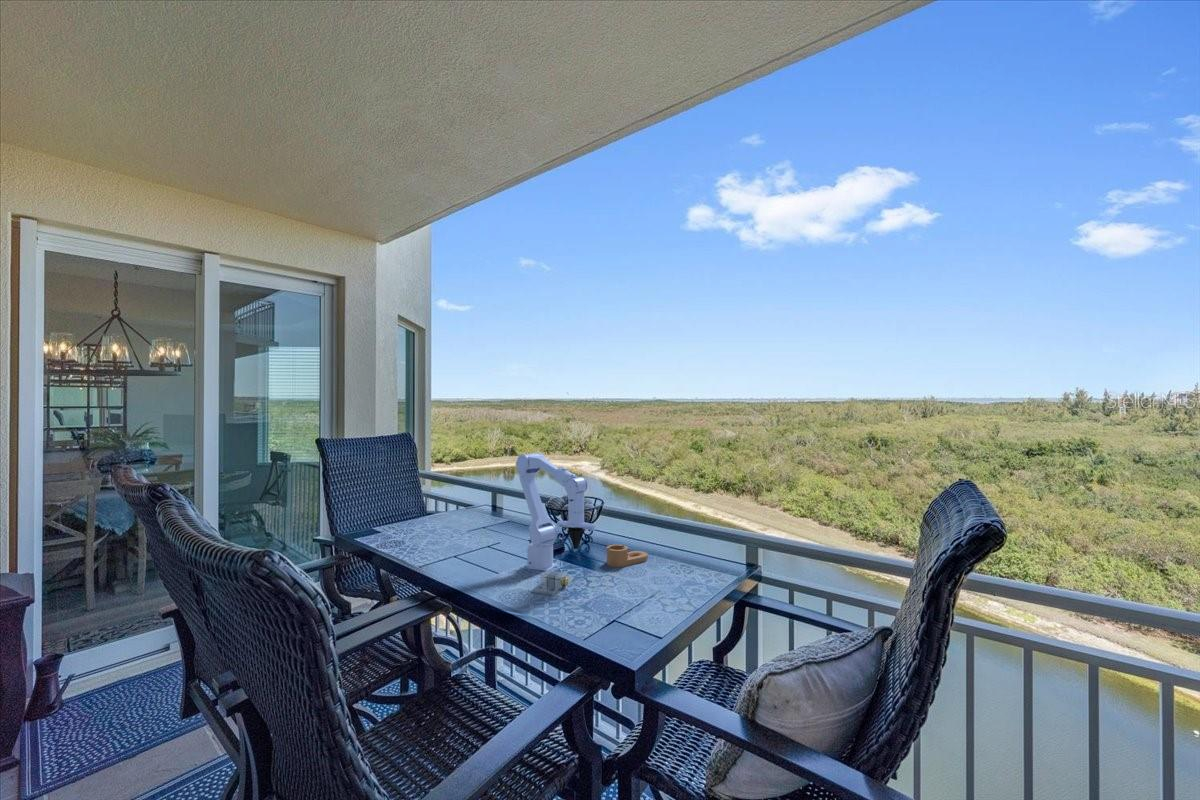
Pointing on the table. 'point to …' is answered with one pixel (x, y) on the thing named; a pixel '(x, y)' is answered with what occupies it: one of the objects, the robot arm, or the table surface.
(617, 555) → the bracket
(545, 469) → the robot arm
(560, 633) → the table surface
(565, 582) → the pin
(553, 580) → the hinge
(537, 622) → the table surface
